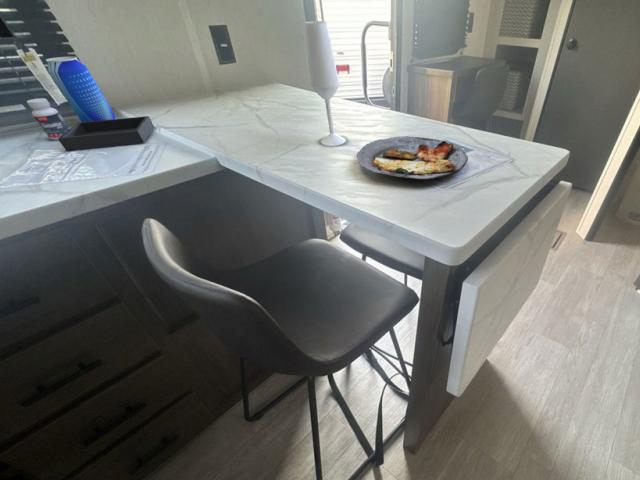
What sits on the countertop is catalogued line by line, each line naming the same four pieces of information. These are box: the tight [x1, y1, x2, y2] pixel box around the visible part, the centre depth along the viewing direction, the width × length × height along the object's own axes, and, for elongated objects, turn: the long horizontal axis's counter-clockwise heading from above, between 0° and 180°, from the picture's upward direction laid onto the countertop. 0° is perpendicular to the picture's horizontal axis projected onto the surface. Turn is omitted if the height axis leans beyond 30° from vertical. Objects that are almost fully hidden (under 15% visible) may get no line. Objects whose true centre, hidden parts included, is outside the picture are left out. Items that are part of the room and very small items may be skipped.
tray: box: [57, 115, 156, 152], centre depth 85 cm, size 18×14×3 cm
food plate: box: [356, 135, 469, 180], centre depth 72 cm, size 25×23×4 cm
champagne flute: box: [304, 20, 347, 147], centre depth 75 cm, size 7×7×24 cm
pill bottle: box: [26, 97, 71, 141], centre depth 84 cm, size 5×5×9 cm
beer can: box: [45, 56, 117, 122], centre depth 88 cm, size 8×8×16 cm
